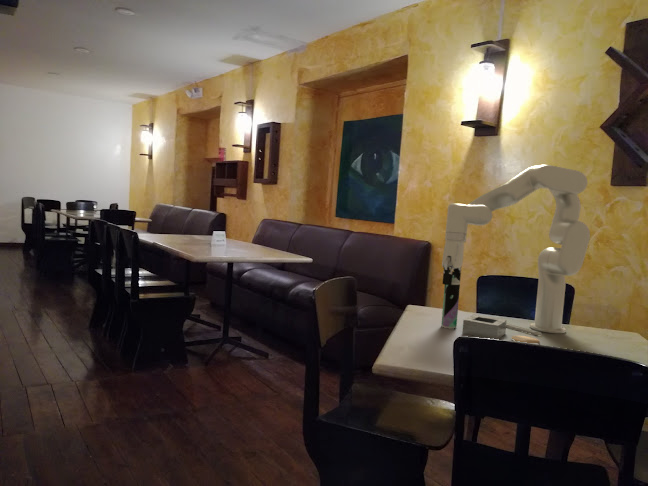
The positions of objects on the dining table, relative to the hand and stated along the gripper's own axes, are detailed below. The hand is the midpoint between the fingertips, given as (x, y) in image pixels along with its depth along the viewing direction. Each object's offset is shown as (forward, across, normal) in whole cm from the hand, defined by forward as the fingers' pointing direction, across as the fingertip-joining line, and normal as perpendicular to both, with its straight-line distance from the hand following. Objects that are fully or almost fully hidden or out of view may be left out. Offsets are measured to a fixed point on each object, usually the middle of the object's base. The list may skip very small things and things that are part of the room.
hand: (451, 283), depth 186 cm
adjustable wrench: (+17, -18, +18) cm, 30 cm away
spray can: (+17, 0, 0) cm, 17 cm away
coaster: (+16, 0, +28) cm, 32 cm away
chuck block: (+16, 0, +14) cm, 21 cm away
